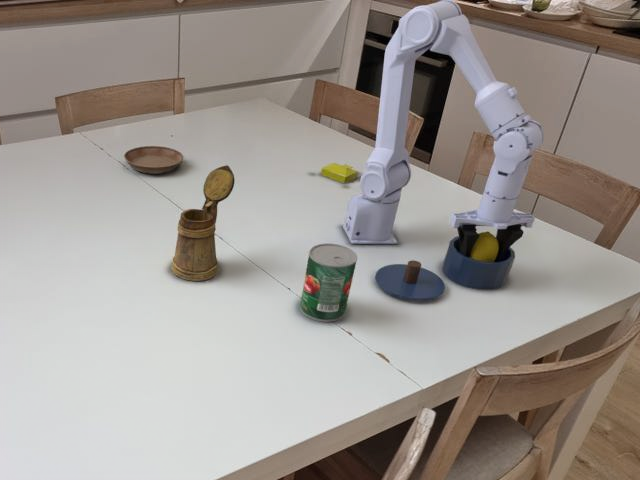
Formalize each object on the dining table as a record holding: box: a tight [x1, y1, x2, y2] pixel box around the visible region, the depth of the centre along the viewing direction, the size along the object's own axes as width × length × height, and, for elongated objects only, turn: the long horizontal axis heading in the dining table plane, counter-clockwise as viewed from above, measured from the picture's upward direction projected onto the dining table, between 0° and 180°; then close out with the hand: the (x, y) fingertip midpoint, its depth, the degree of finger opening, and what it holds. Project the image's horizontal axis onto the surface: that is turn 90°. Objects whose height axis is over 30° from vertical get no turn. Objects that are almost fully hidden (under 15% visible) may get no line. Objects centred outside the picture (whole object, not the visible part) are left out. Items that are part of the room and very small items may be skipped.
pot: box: [441, 235, 516, 291], centre depth 127 cm, size 11×11×6 cm
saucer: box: [123, 145, 184, 175], centre depth 169 cm, size 15×15×3 cm
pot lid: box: [374, 259, 446, 302], centre depth 124 cm, size 12×12×5 cm
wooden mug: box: [170, 164, 236, 282], centre depth 125 cm, size 9×14×18 cm, turn 141°
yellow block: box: [312, 162, 360, 188], centre depth 166 cm, size 10×9×3 cm
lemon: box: [469, 231, 499, 262], centre depth 126 cm, size 6×6×8 cm
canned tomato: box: [299, 243, 358, 323], centre depth 115 cm, size 8×8×11 cm
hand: (477, 260), depth 127 cm, fingers closed on lemon, 5 cm apart
